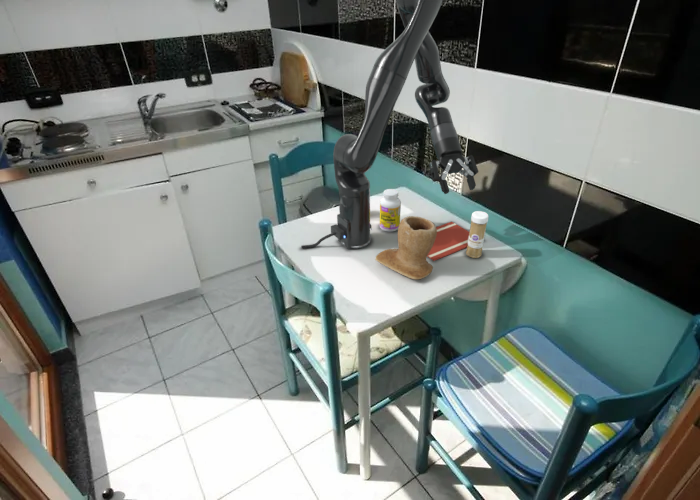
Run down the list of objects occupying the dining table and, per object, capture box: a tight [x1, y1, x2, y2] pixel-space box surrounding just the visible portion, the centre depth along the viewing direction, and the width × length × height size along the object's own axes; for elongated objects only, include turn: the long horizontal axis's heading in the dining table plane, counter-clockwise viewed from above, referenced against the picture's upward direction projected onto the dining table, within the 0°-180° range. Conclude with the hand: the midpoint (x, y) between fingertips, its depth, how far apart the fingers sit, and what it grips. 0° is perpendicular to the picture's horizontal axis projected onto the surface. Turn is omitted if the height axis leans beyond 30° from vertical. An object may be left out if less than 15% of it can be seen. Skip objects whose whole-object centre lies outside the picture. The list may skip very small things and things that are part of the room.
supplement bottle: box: [379, 188, 402, 233], centre depth 134 cm, size 7×7×13 cm
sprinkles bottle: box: [465, 210, 489, 259], centre depth 120 cm, size 5×5×14 cm
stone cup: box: [374, 215, 437, 281], centre depth 115 cm, size 15×12×15 cm
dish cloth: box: [427, 221, 470, 262], centre depth 130 cm, size 20×14×1 cm
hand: (459, 191), depth 124 cm, fingers open, 8 cm apart
